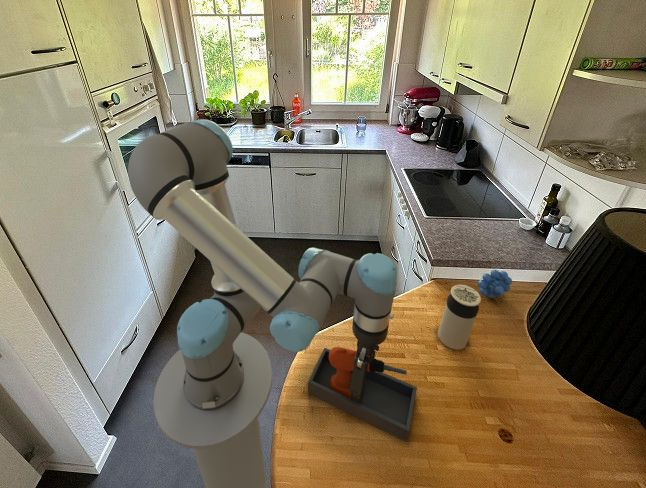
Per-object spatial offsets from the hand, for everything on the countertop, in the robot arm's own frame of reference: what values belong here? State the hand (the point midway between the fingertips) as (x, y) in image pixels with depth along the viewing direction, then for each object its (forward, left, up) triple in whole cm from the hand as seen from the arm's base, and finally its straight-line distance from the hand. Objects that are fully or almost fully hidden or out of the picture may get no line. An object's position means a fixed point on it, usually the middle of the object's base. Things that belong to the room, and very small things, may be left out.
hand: (362, 382), depth 79 cm
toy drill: (0, 0, -5) cm, 5 cm away
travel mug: (+19, +28, -6) cm, 34 cm away
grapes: (+30, +50, -6) cm, 59 cm away
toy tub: (0, 0, -5) cm, 5 cm away
